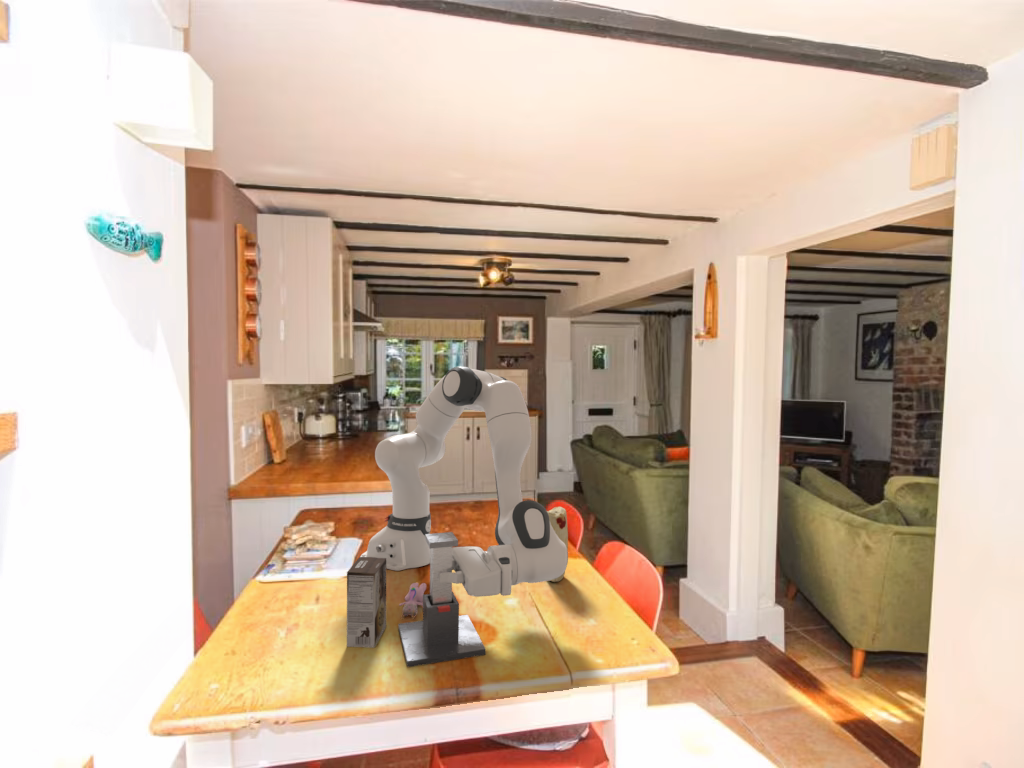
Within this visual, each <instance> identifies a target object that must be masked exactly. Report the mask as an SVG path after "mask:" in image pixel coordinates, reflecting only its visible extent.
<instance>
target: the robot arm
mask: <svg viewBox="0 0 1024 768" xmlns="http://www.w3.org/2000/svg"><path fill="white" fill-rule="evenodd" d="M465 409H468V410H472V411H476V412H484V413H485V419H486V420H485V421H486V427H487V433H488V439H489V445H490V449H491V454H492V460H493V467H494V477H495V487H496V489H495V490H496V496H497V506H498V513H497V514H498V516H497V520H496V523H495V524H496V525H495V529H494V538H495V540H496V543H497V545H490V546H488V547H487V550H483V548H481V547H480V546H471V545H468V546H453V547H452V572H447V571H444V572H439V581H440V582H441V583H443V582H450V583H452V584H462V587H463V588H464V590H465V592H466V593H467V595H469V596H471V597H476V598H477V597H478V598H479V597H490V596H497V595H499V594H500V595H501V596H510V595H511V594H512V586H516V585H518V584H521V583H528V584H536V583H537V584H538V583H543V582H547V581H550V580H552V579H556V578H558V577H560V576H561V575H562V574H563V573H564V571H565V572H566V569H567V566H568V564H569V552H568V551H569V550H568V551H567V547H566V545H565V544H564V542H562V541H561V540H560V539H559V537H558V536H557V535H556V533H555V531H554V529H553V527H552V525H551V523H550V520H549V515H548V512H547V511H548V510H547V509H546V507H544V505H542V504H541V503H539V502H538V501H535V500H533V499H527V500H526V499H525V500H523V495H522V494H523V493H522V485H521V484H522V483H521V470H522V466H523V464H524V461H525V458H526V456H527V454H528V452H529V449H530V447H531V445H532V423H531V420H530V413H529V410H528V407H527V403H526V399H525V398H524V394H523V393H522V390H521V388H520V386H519V385H518V384H517V383H516V382H514V381H512V380H510V379H507V378H505V377H503V376H499V375H497V374H494V373H492V372H489V371H486V370H479V369H474V368H471V367H468V366H454V367H452V368H451V369H449V370H448V371H447V373H445V375H444V376H442V378H440V380H439V381H438V382H437V383H436V384H435V385H434V386H433V388H432V389H431V390H430V392H429V393H428V395H427V397H426V398H425V399H424V401H423V402H422V404H421V405H420V406H419V408H417V411H416V413H415V420H416V423H417V425H416V427H415V428H414V429H413V430H412V431H411V432H408V433H402V434H394V435H392V436H388V437H386V438H385V439H383V440H380V442H378V444H377V445H376V448H375V451H374V459H375V462H376V464H377V466H378V468H379V469H381V470H382V471H383V472H384V473H385V474H386V476H387V478H388V480H389V482H390V483H389V484H390V487H391V491H392V492H391V493H392V512H391V513H390V514H388V516H387V517H385V518H384V523H386V522H387V524H386V526H385V527H383V528H382V529H381V530H379V531H378V532H376V534H373V536H372V537H371V538H370V540H369V541H368V545H367V550H366V551H365V552H363V553H362V554H361V555H360V556H359V557H375V558H386V570H392V571H394V572H395V571H396V572H399V571H402V570H403V571H404V570H406V569H414V568H415V569H416V568H419V567H423V566H427V565H430V548H429V546H428V544H427V542H426V540H425V534H431V528H432V526H431V525H432V520H431V519H432V517H431V515H432V514H431V512H430V499H431V498H430V494H431V493H430V489H429V486H428V485H427V484H426V483H424V482H423V480H422V478H421V474H420V468H424V467H429V466H431V465H433V464H435V463H437V462H439V461H441V460H442V459H443V457H444V456H445V453H446V448H447V447H446V441H445V440H446V437H447V436H448V434H449V432H450V430H451V429H452V428H453V426H454V425H455V424H456V422H457V421H458V419H459V418H460V417H461V415H462V414H463V412H464V411H465ZM453 571H454V572H453Z"/></svg>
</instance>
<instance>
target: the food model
mask: <svg viewBox="0 0 1024 768" xmlns="http://www.w3.org/2000/svg"><path fill="white" fill-rule="evenodd" d="M546 511H547V512H548V515H549V520H550V523H551V525H552V527H553V529H554V531H555V533H556V535H557V536H558V537H559V539H560V540H561V541H562V542H564V544H565V545H566V547H567V551H569V540H568V539H569V533H568V532H569V530H568V529H569V527H568V516H567V510H566V508H564V507H562V506H555V507H553V508H552V509H550V510H546ZM565 574H566V570H565V571H564V573H563V574H562V575H561V576H560V577H558V578H556V579H552V580H549V581H550V582H553V583H555V582H557V583H558V582H560V581H561V580H562V579H564V576H565Z"/></svg>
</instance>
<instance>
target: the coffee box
mask: <svg viewBox="0 0 1024 768" xmlns="http://www.w3.org/2000/svg"><path fill="white" fill-rule="evenodd" d="M386 628H387V568H386V558H375V557H360V556H359V557H358V558H357V559H356V561H355V562H354V563H353V564H352V565H351V567H350V568H349V569H348V571H346V647H349V648H350V647H353V648H372V649H373V648H376V646H377V645H378V643H379V641H380V639H381V637H382V635H383V633H384V631H385V630H386Z"/></svg>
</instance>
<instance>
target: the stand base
mask: <svg viewBox="0 0 1024 768" xmlns="http://www.w3.org/2000/svg"><path fill="white" fill-rule="evenodd" d="M422 604H423V606H422V620H417V621H411V622H401V623H398V626H397V627H398V630H397V631H398V632H399V638H400V642H401V646H402V650H403V654H404V655H403V656H404V658H405V664H406V667H407V668H411V667H417V666H423V665H424V666H425V665H429V664H436V663H442V662H443V663H444V662H448V661H455V660H460V659H469V658H473V657H481V656H485V655H486V654H487V653H486V651H487V650H486V647H485V645H484V643H483V641H482V640H481V637H480V635H479V634H478V632H477V630H476V628H475V626H474V624H473V623H472V620H471V618H470V616H469V614H463V615H460V612H459V611H460V603H459V601H458V599H457V598H456V595H455V594H454V592H453V590H452V603H449V604H441V605H433V606H431V605H430V593H429V594H428V593H427V594H424V595H423V603H422Z"/></svg>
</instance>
